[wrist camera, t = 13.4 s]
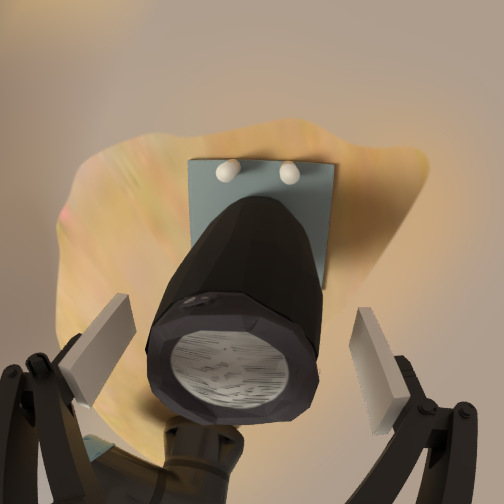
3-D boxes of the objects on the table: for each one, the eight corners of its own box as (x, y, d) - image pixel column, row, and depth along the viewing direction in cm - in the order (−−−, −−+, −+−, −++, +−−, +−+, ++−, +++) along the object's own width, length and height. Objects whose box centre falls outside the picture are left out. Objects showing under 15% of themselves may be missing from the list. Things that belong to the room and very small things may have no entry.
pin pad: (319, 291, 32) (325, 316, 28) (196, 284, 33) (184, 308, 29) (332, 163, 27) (343, 169, 22) (190, 158, 28) (174, 164, 23)
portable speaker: (320, 234, 29) (372, 390, 11) (251, 286, 32) (221, 451, 14) (264, 168, 27) (236, 248, 9) (195, 229, 30) (96, 365, 12)
